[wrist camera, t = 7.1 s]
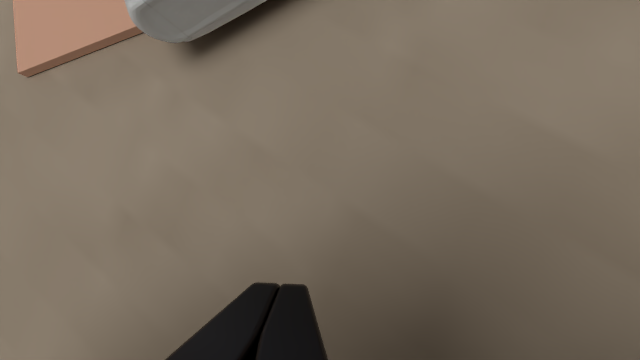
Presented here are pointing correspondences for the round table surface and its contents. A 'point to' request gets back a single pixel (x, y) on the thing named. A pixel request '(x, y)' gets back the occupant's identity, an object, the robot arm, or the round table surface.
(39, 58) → the mat
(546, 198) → the round table surface
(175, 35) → the photo printer
